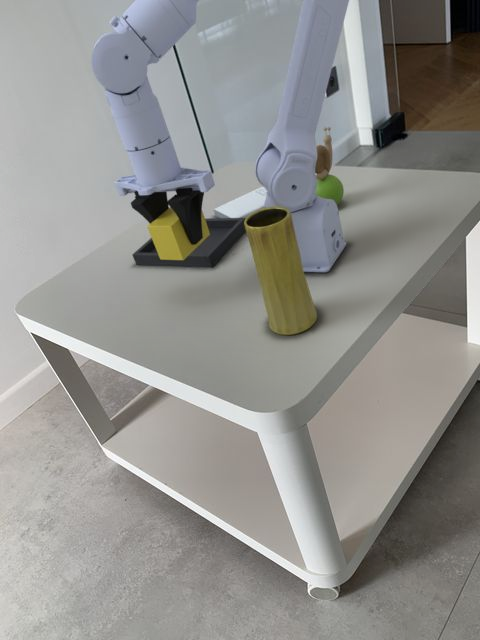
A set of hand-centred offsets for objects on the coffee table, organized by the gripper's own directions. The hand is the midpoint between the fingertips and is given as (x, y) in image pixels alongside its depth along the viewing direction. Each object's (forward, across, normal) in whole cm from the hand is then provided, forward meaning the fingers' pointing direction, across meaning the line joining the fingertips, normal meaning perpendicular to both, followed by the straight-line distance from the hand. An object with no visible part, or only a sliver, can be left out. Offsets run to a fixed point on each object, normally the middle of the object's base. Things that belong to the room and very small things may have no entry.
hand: (183, 240), depth 76 cm
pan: (+8, -10, +13) cm, 18 cm away
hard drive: (+9, -5, +27) cm, 29 cm away
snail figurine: (+9, +10, +27) cm, 30 cm away
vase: (+9, +17, -5) cm, 20 cm away
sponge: (+1, 0, 0) cm, 1 cm away
